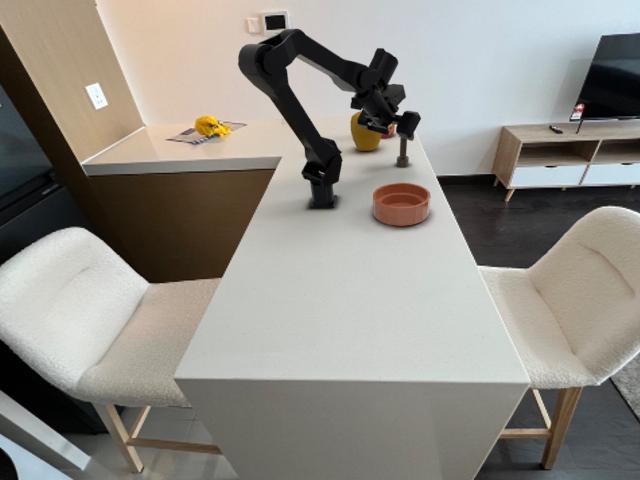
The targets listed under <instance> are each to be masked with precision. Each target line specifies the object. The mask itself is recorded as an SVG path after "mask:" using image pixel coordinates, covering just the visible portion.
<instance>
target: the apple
mask: <svg viewBox="0 0 640 480" xmlns="http://www.w3.org/2000/svg"><path fill="white" fill-rule="evenodd" d="M361 111H362V110H359V111H357V112H355V113H354V114H353V115H351V118H350V134H351V137H352V140H353V142H354V145H355V147H356V149H357V150H358V151H362V152H364V151H365V152H369V151H374V150H376V149H377V147H378V146H379V144H380V142H381V141H382V140H381V139H382V138H381V136H382V134H380V133H377V132H374V131H370V130H367V129H365V128H361V127H360V126H359V125H358V121H357V119H358V117H359V115H360V113H361Z"/></svg>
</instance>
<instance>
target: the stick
mask: <svg viewBox="0 0 640 480" xmlns="http://www.w3.org/2000/svg"><path fill="white" fill-rule="evenodd" d="M407 149H408V140H407V139H404V138H401V137H399V155H398V156H396V167H398V168H407V167H408V166H409V161H410V157H409V156H408V155H407Z"/></svg>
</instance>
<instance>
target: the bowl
mask: <svg viewBox="0 0 640 480" xmlns="http://www.w3.org/2000/svg"><path fill="white" fill-rule="evenodd" d="M431 198H432V196H431V192H430V191H429V190H428V189H427V188H426V187H424V186H422V185H420V184H417V183H416V184H415V183H410V182H394V183H387V184H384V185H382V186H380V187H377V188H376V189H375V190H374V191H373V193H372V214H373V217H374V218H376V220H377V221H379V222H381V223H383V224H387V225H390V226H391V225H392V226H399V227H400V226H401V227H403V226H404V227H405V226H411V225H415V224H418V223H421V222H423V221H424V220H426V219H427V218H428V216H429V215H430V207H431Z"/></svg>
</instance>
